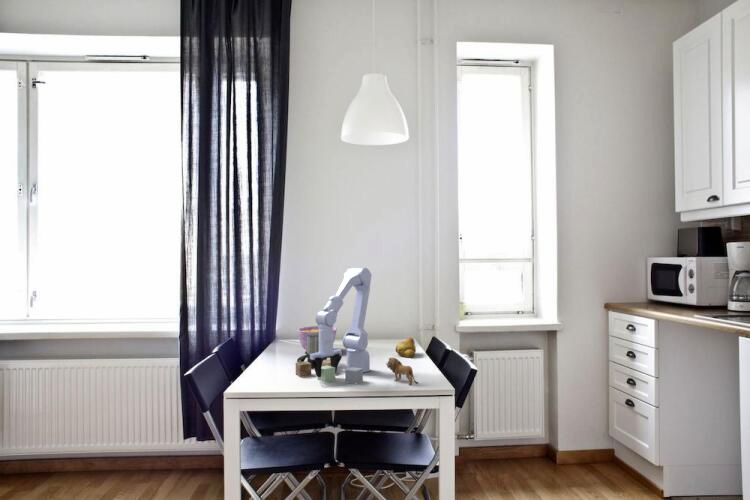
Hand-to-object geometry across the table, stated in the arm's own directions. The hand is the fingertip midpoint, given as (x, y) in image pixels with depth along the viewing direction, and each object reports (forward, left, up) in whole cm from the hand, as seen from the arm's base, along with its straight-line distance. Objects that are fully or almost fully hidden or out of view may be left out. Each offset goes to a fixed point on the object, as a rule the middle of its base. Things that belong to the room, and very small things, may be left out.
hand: (326, 375), depth 208 cm
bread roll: (-56, -10, -2) cm, 57 cm away
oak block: (-8, -9, -2) cm, 12 cm away
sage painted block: (0, 0, -2) cm, 2 cm away
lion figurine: (-19, +23, -2) cm, 30 cm away
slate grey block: (-6, +10, -2) cm, 12 cm away
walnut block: (+2, -13, -2) cm, 13 cm away
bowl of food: (-31, -48, -2) cm, 57 cm away
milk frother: (-11, -25, -2) cm, 27 cm away
